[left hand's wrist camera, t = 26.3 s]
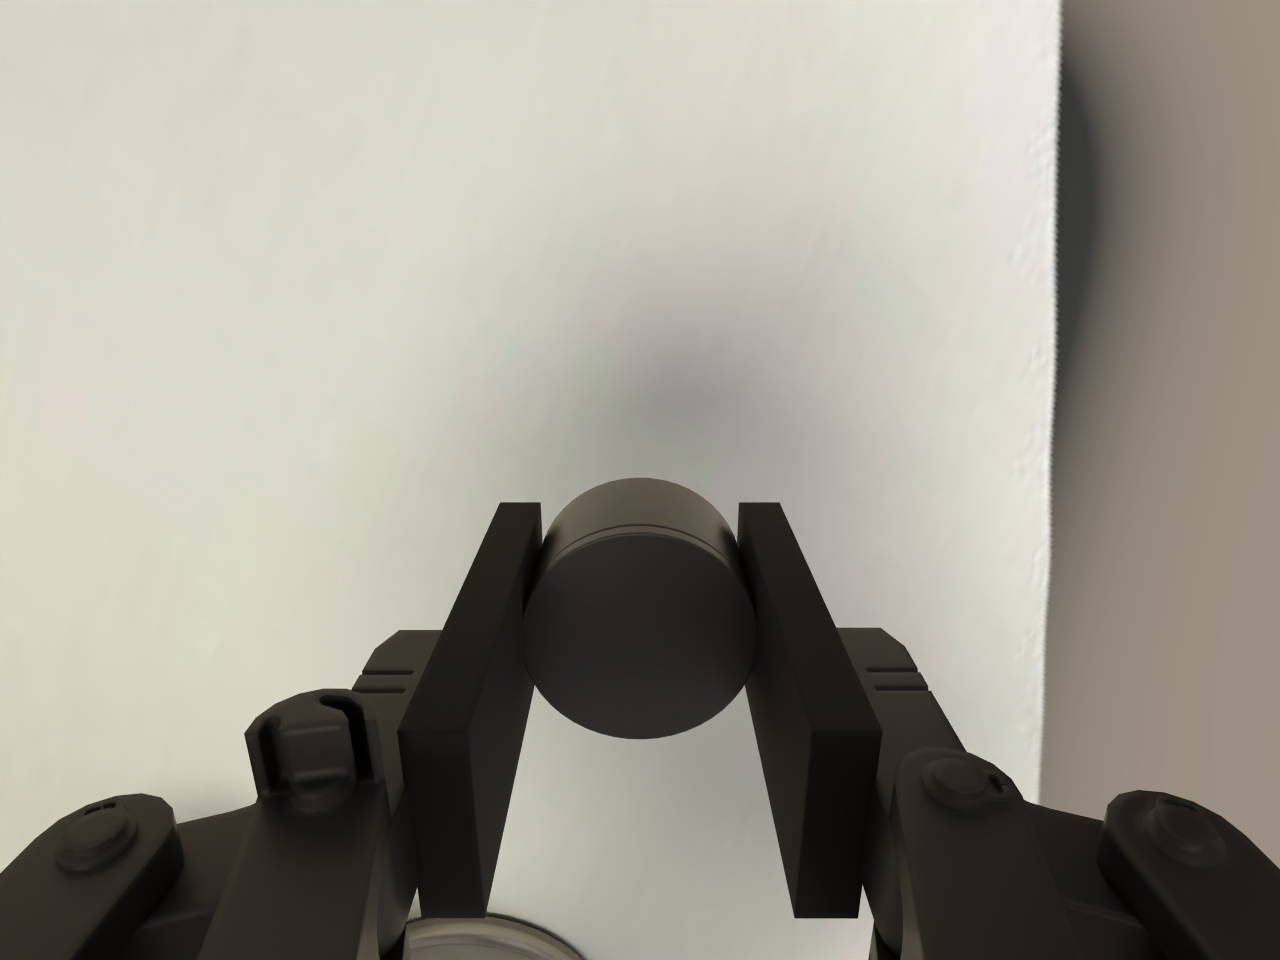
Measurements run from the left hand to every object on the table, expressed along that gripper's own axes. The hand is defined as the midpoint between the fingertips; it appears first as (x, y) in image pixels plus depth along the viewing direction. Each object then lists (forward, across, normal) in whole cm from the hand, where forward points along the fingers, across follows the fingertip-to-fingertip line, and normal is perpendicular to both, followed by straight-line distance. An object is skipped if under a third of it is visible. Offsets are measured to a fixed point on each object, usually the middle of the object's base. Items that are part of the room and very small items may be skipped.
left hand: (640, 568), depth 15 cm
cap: (-2, 0, 0) cm, 2 cm away
